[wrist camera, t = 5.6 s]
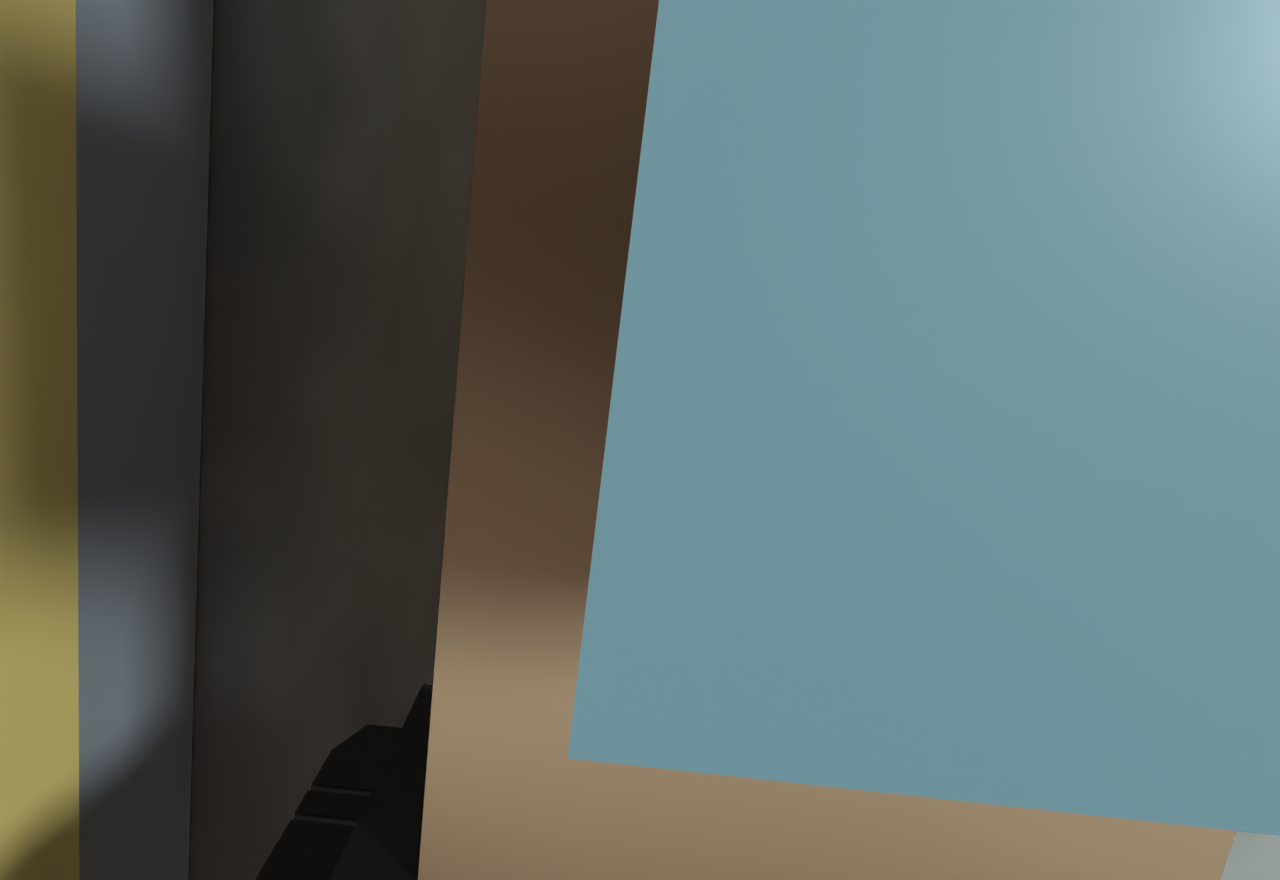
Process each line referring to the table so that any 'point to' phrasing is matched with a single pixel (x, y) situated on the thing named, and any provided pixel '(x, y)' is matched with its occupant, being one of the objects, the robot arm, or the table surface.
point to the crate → (951, 408)
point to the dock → (100, 430)
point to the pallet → (564, 535)
